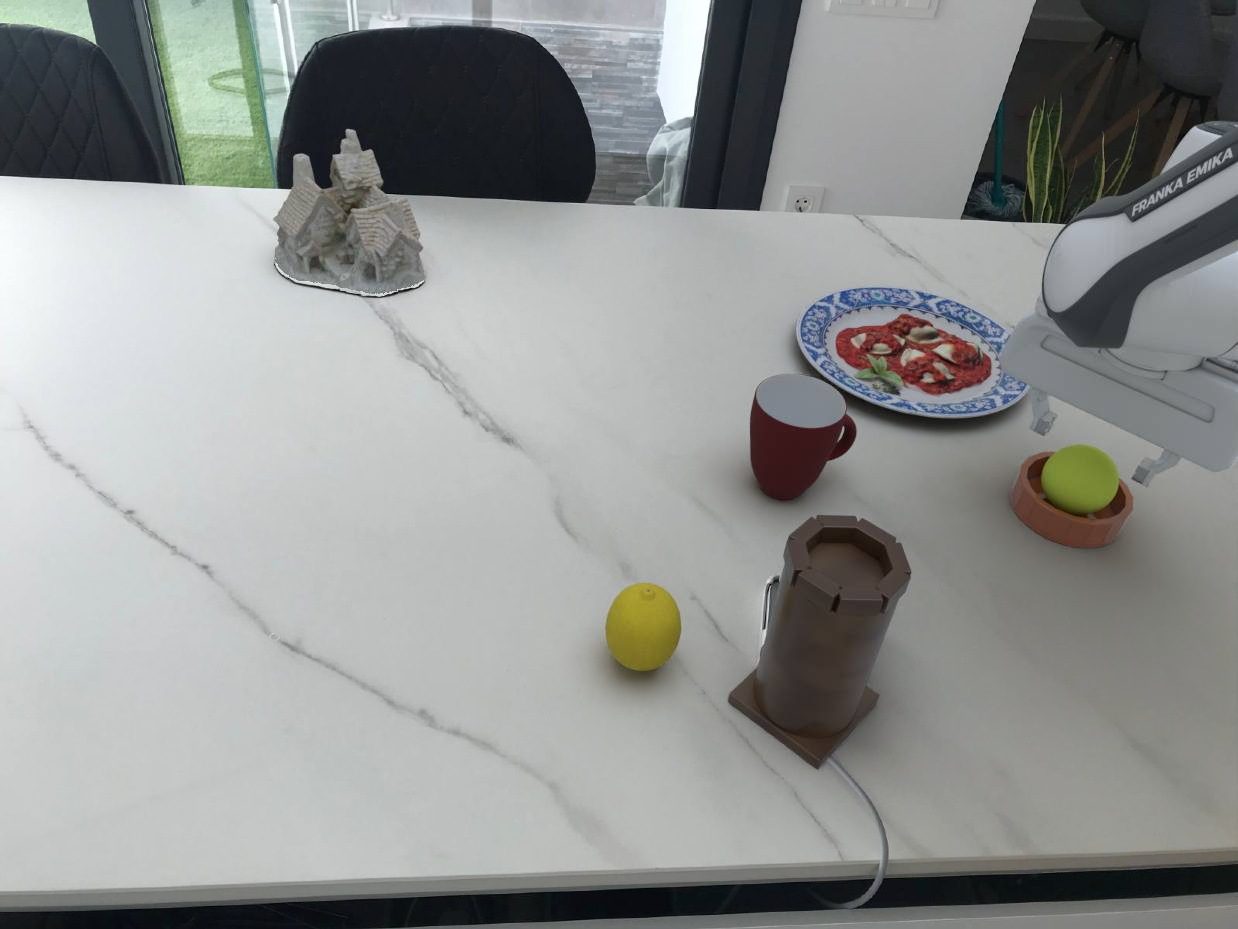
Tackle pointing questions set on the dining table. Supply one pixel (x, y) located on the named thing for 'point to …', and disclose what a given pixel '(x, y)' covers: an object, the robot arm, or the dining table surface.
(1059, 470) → the tennis ball
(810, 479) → the mug
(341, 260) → the ceramic cottage
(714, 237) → the dining table surface
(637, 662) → the lemon
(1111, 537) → the terracotta dish
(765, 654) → the brown toy castle tower
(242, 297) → the dining table surface
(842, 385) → the ceramic plate
